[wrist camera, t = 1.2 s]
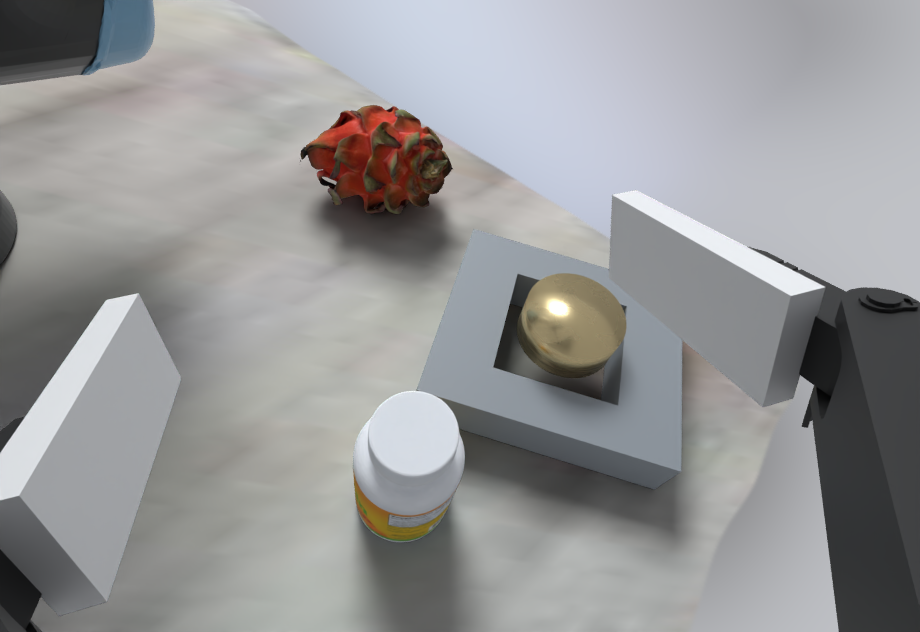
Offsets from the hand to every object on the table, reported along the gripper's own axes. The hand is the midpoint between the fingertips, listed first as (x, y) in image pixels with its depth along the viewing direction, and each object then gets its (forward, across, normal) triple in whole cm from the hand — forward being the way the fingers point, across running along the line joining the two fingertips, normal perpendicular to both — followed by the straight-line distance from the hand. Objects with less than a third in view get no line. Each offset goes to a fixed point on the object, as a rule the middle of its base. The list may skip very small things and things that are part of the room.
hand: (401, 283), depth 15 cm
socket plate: (+15, +10, -16) cm, 24 cm away
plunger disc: (+13, +11, -13) cm, 22 cm away
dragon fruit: (+31, +2, -7) cm, 31 cm away
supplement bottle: (+8, -2, -18) cm, 20 cm away
